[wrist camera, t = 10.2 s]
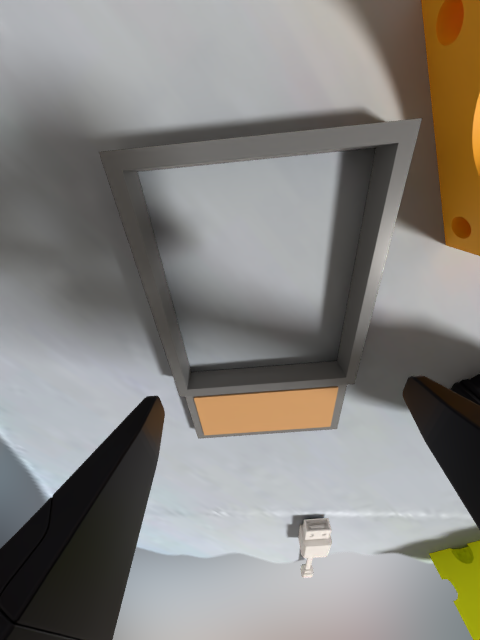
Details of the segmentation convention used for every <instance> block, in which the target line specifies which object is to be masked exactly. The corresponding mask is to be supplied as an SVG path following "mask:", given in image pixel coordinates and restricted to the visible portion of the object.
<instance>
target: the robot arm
mask: <svg viewBox="0 0 480 640" xmlns="http://www.w3.org/2000/svg"><path fill="white" fill-rule="evenodd" d="M403 398H404V400H405V402H406V404H407V406H408V408H409V410H410V412H411V414H412V416H413V418H414V420H415V422H416V424H417V426H418V428H419V430H420V432H421V434H422V436H423V438H424V440H425V442H426V444H427V445H428V447H429V449H430V450H431V452H432V453H433V455H434V457H435V458H436V460H437V462H438V463H439V465H440V466H441V468H442V470H443V471H444V473H445V474H446V476H447V478H448V479H449V481H450V483H451V484H452V486H453V487H454V489H455V491H456V492H457V494H458V496H459V497H460V499H461V500H462V502H463V504H464V505H465V507H466V508H467V510H468V512H469V513H470V515H471V517H472V518H473V520H474V521H475V523H476V525H477V526H478V528H479V530H480V374H479V375H477V376H475V377H473V378H471V379H465V380H462V381H461V382H460V383H455V384H454V386H453V387H452V389H451V390H450V389H448V388H446V387H444V386H442V385H440V384H438V383H437V382H435V381H433V380H431V379H429V378H427V377H425V376H422V375H418V376H410V377H409V378H408V380H407V382H406V385H405V387H404V389H403ZM164 416H165V412H164V408H163V406H162V403H161V401H160V398H159V397H158V396H148V397H146V398H144V399H143V401H142V402H141V403H140V404H139V405H138V406H137V407H136V408H135V409H134V410H133V411H132V412H131V413H130V414H129V415H128V416H127V417H126V418H125V420H124V421H123V422H122V423H121V424H120V425H119V426H118V427H117V428H116V429H115V430H114V431H113V432H112V433H111V434H110V435H109V436H108V438H107V439H106V440H105V441H104V442H103V443H102V444H101V445H100V446H99V447H98V448H97V449H96V450H95V451H94V452H93V453H92V454H91V455H90V457H89V458H88V459H87V460H86V461H85V462H84V463H83V464H82V465H81V466H80V467H79V468H78V469H77V470H76V471H75V472H74V473H73V474H72V476H71V477H70V478H69V479H68V480H67V481H66V482H65V483H64V484H63V485H62V486H61V487H60V488H59V489H58V490H57V491H56V492H55V493H54V495H53V498H50V499H49V500H48V501H47V502H46V503H45V504H44V505H43V506H42V507H41V508H40V510H38V511H37V512H36V513H35V514H34V515H33V516H32V517H31V518H30V520H29V521H28V522H27V523H26V524H25V525H24V526H23V527H22V528H21V529H20V530H19V531H18V532H17V533H16V534H15V535H14V536H13V537H12V538H11V539H10V540H9V541H8V542H7V543H6V544H5V545H4V546H3V547H2V548H1V549H0V640H112V639H113V635H114V631H115V627H116V623H117V619H118V616H119V612H120V608H121V604H122V599H123V596H124V592H125V588H126V584H127V580H128V576H129V572H130V568H131V564H132V560H133V556H134V553H135V549H136V545H137V541H138V537H139V533H140V529H141V525H142V521H143V517H144V513H145V509H146V505H147V501H148V497H149V494H150V490H151V486H152V482H153V478H154V474H155V470H156V466H157V461H158V456H159V450H160V443H161V437H162V430H163V423H164Z"/></svg>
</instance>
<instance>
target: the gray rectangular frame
mask: <svg viewBox="0 0 480 640" xmlns="http://www.w3.org/2000/svg"><path fill="white" fill-rule="evenodd" d="M421 120H422V118H419V119H409V120H400V121H390V122H381V123H371V124H361V125H352V126H342V127H333V128H323V129H313V130H304V131H294V132H285V133H275V134H265V135H256V136H246V137H237V138H227V139H218V140H208V141H198V142H189V143H179V144H170V145H160V146H150V147H141V148H131V149H122V150H112V151H102V152H99V154H100V157H101V160H102V163H103V166H104V169H105V172H106V175H107V178H108V181H109V184H110V187H111V190H112V193H113V196H114V199H115V202H116V205H117V208H118V211H119V214H120V217H121V220H122V223H123V226H124V229H125V232H126V235H127V238H128V241H129V244H130V247H131V250H132V253H133V256H134V259H135V263H136V266H137V269H138V272H139V275H140V278H141V281H142V284H143V287H144V290H145V293H146V296H147V299H148V302H149V305H150V308H151V311H152V314H153V317H154V320H155V323H156V326H157V329H158V332H159V335H160V338H161V341H162V344H163V347H164V350H165V353H166V356H167V359H168V362H169V365H170V368H171V371H172V374H173V377H174V380H175V383H176V386H177V389H178V392H179V396H180V397H185V396H198V395H212V394H225V393H239V392H252V391H266V390H279V389H293V388H306V387H320V386H333V385H346V384H355V380H356V376H357V372H358V368H359V364H360V360H361V356H362V352H363V348H364V344H365V340H366V336H367V333H368V329H369V325H370V321H371V317H372V313H373V309H374V305H375V301H376V297H377V293H378V289H379V285H380V281H381V277H382V274H383V270H384V266H385V262H386V258H387V254H388V250H389V246H390V242H391V238H392V234H393V230H394V226H395V222H396V218H397V215H398V211H399V207H400V203H401V199H402V195H403V191H404V187H405V183H406V179H407V175H408V171H409V167H410V163H411V160H412V156H413V152H414V148H415V144H416V140H417V136H418V132H419V128H420V124H421ZM367 148H376V150H375V155H374V161H373V166H372V172H371V177H370V183H369V188H368V194H367V199H366V204H365V210H364V215H363V221H362V226H361V232H360V237H359V243H358V248H357V254H356V259H355V265H354V270H353V275H352V281H351V286H350V292H349V297H348V303H347V308H346V314H345V319H344V325H343V330H342V336H341V341H340V347H339V352H338V357H337V361H330V362H317V363H304V364H291V365H278V366H265V367H252V368H239V369H226V370H213V371H200V372H191V369H190V366H189V362H188V358H187V355H186V351H185V347H184V343H183V340H182V336H181V332H180V329H179V325H178V321H177V317H176V314H175V310H174V306H173V303H172V299H171V295H170V291H169V288H168V284H167V280H166V277H165V273H164V269H163V265H162V262H161V258H160V254H159V251H158V247H157V243H156V239H155V236H154V232H153V228H152V225H151V221H150V217H149V214H148V210H147V206H146V202H145V199H144V195H143V191H142V188H141V184H140V180H139V176H138V173H137V172H140V171H150V170H160V169H170V168H180V167H190V166H199V165H209V164H219V163H229V162H239V161H249V160H259V159H269V158H278V157H288V156H298V155H308V154H318V153H328V152H338V151H347V150H357V149H367Z"/></svg>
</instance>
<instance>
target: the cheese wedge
mask: <svg viewBox="0 0 480 640" xmlns="http://www.w3.org/2000/svg"><path fill="white" fill-rule="evenodd" d="M467 545H468V546H467V547H465V548H462V549H451V548H449V549H445V550H441V551H437V552H433V553H429V555H430V557H431V559H432V561H433V563H434V565H435V567H436V568H437V571H438V572H439V574H440V576H441V578H442V579H448V580H449V581H450V582H451V583H452V585H453V586H454V587H455V589H456V591H457V593H458V599H457V600H456V601H454V603H455V605H456V607H457V609H458V611H459V613H460V615H461V617H462V619H463V621H464V623H465V625H466V627H467V629H468V630H469V632H470V634H471V636H472V638H473V640H480V540H479V541H476V542H472V543H468V544H467Z"/></svg>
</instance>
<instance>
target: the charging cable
mask: <svg viewBox="0 0 480 640" xmlns="http://www.w3.org/2000/svg"><path fill="white" fill-rule="evenodd" d="M330 533H331V526H330V523H329V519H328V518H321V519H305V520H304V523H303V525H300V528H299V537H298V538H299V544H300V550H301V555H302V557H303V558H307V561H306V564H304V565H302V566H301V574H302V577H303V578H307V577H308V578H309V577H312V576H313V568H312V565H311V563H312V559H313V558H316V557H327V555H328V552H329V550H330V547H331V544H332V540H331V536H330Z"/></svg>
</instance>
